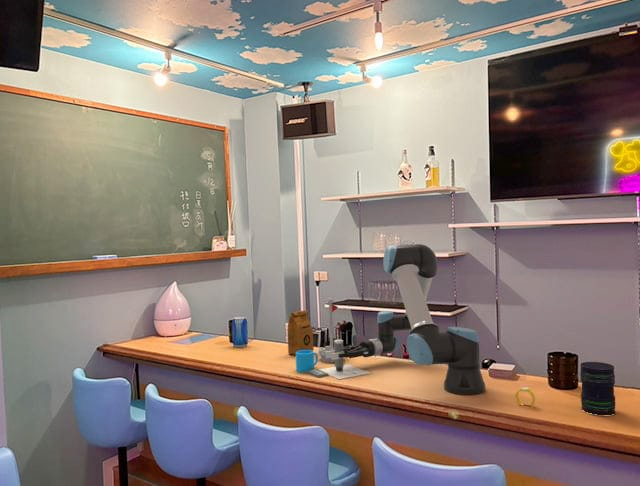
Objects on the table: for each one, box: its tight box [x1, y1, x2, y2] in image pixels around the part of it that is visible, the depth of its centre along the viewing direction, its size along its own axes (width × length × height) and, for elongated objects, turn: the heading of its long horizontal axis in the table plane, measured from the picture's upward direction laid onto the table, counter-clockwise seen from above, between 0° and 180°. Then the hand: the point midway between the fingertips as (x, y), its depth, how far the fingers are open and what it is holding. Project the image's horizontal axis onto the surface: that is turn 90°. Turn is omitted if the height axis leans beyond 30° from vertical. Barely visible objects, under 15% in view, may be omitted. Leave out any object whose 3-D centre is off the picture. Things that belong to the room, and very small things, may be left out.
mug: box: [295, 350, 319, 373], centre depth 231 cm, size 12×8×8 cm
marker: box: [333, 339, 345, 371], centre depth 224 cm, size 4×4×13 cm
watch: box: [515, 386, 536, 407], centre depth 174 cm, size 6×3×6 cm, turn 51°
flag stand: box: [318, 297, 339, 363], centre depth 247 cm, size 13×13×30 cm
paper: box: [318, 364, 371, 381], centre depth 224 cm, size 18×16×1 cm
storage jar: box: [579, 361, 616, 415], centre depth 166 cm, size 10×10×15 cm
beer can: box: [231, 316, 249, 349], centre depth 285 cm, size 8×8×16 cm
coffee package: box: [287, 309, 315, 356], centre depth 263 cm, size 10×12×22 cm
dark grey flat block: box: [306, 368, 329, 379], centre depth 222 cm, size 10×5×1 cm, turn 30°
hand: (328, 355), depth 221 cm, fingers closed on marker, 4 cm apart
